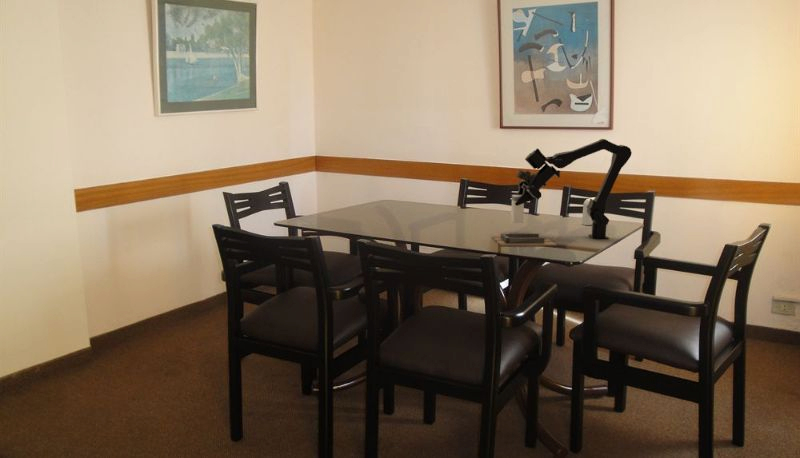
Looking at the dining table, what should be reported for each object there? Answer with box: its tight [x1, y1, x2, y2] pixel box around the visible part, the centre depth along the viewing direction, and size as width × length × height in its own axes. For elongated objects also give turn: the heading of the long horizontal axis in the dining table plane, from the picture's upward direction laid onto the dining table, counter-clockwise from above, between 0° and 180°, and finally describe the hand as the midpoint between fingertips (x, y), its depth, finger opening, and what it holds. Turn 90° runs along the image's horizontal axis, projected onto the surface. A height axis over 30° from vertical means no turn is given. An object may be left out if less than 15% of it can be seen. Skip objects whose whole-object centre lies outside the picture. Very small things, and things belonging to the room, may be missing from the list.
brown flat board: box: [491, 233, 557, 247], centre depth 282 cm, size 16×22×2 cm
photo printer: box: [581, 196, 597, 226], centre depth 322 cm, size 10×4×12 cm, turn 123°
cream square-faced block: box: [510, 194, 525, 224], centre depth 292 cm, size 5×4×11 cm
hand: (514, 203), depth 291 cm, fingers closed on cream square-faced block, 5 cm apart
